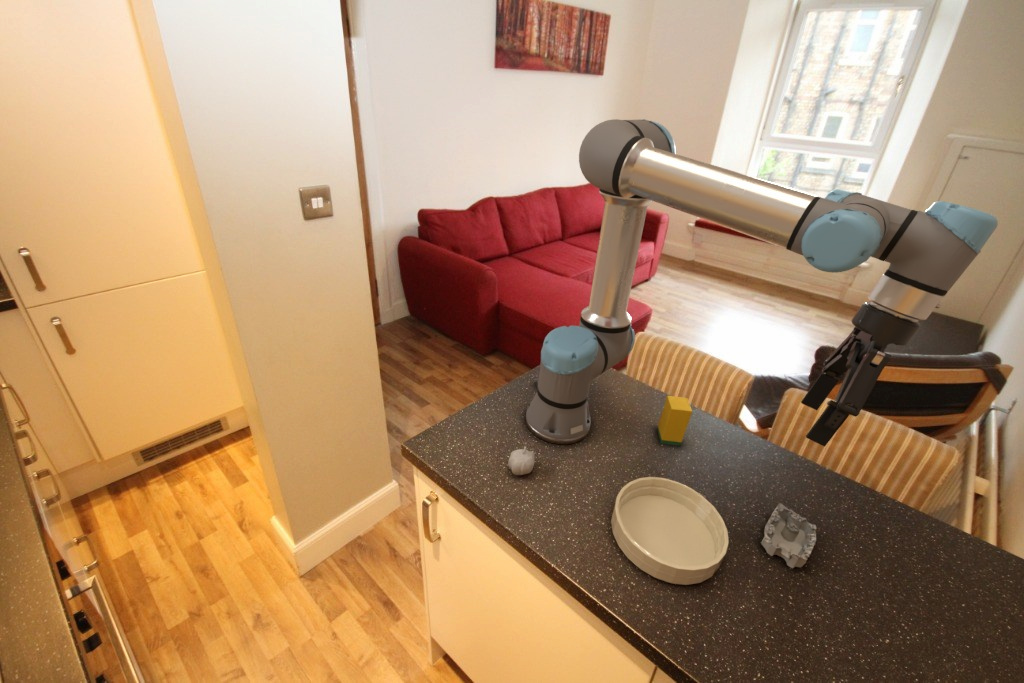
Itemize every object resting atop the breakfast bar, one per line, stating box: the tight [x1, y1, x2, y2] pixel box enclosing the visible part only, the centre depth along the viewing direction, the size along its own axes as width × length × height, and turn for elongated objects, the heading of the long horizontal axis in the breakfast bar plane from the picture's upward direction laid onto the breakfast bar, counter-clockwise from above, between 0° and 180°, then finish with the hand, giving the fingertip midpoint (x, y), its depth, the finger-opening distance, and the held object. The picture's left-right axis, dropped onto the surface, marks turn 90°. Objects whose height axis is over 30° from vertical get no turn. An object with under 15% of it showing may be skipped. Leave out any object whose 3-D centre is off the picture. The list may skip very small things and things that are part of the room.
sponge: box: [656, 395, 693, 447], centre depth 102 cm, size 5×4×10 cm
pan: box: [610, 476, 730, 586], centre depth 80 cm, size 19×19×4 cm
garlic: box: [507, 445, 536, 476], centre depth 91 cm, size 6×5×5 cm
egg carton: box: [760, 502, 817, 569], centre depth 80 cm, size 11×8×4 cm
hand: (811, 422), depth 75 cm, fingers open, 13 cm apart
